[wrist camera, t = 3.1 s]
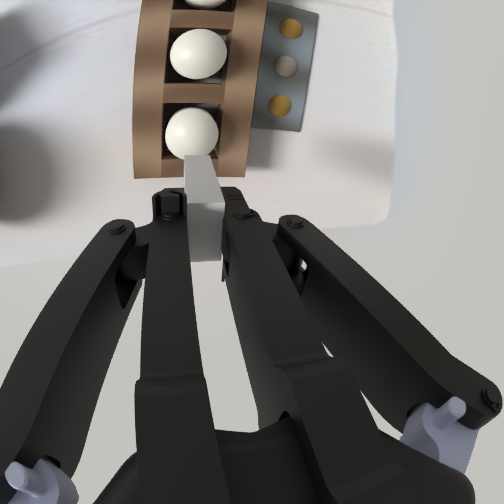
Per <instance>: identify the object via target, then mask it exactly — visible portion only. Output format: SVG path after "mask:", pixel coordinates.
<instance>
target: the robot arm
mask: <svg viewBox="0 0 504 504" xmlns="http://www.w3.org/2000/svg"><path fill="white" fill-rule="evenodd" d="M152 206H153V221H152V222H151V223H150V224H147V225H145V226H142V227H138V228H135V225H134V223H133V222H131V221H130V220H125V219H116V220H112V221H111V222H109V223H106V224H105V225H104V226H103V227H102V228H101V229H100V230H99V232H98V233H97V234H96V235H95V237H94V238H93V239H92V240H91V242H90V243H89V244H88V245H87V247H86V248H85V249H84V251H83V252H82V253H81V254H80V256H79V257H78V258H77V260H76V261H75V263H74V264H73V265H72V267H71V268H70V269H69V271H68V272H67V274H66V275H65V276H64V278H63V279H62V281H61V282H60V284H59V285H58V287H57V288H56V289H55V291H54V293H53V294H52V295H51V297H50V298H49V300H48V302H47V303H46V305H45V306H44V308H43V310H42V311H41V313H40V314H39V316H38V318H37V319H36V321H35V323H34V324H33V326H32V328H31V329H30V331H29V333H28V335H27V337H26V338H25V340H24V342H23V344H22V346H21V347H20V349H19V351H18V353H17V355H16V357H15V359H14V361H13V363H12V365H11V367H10V369H9V371H8V373H7V375H6V377H5V379H4V382H3V384H2V386H1V388H0V504H77V502H78V499H79V495H78V493H77V490H76V487H75V485H74V483H73V482H72V480H71V478H72V476H73V475H74V472H75V470H76V468H77V466H78V463H79V461H80V458H81V455H82V452H83V449H84V446H85V442H86V438H87V434H88V431H89V427H90V423H91V420H92V417H93V413H94V410H95V407H96V404H97V400H98V397H99V394H100V391H101V388H102V385H103V382H104V379H105V376H106V373H107V371H108V368H109V365H110V362H111V359H112V357H113V354H114V351H115V348H116V346H117V343H118V341H119V338H120V336H121V333H122V331H123V328H124V326H125V323H126V321H127V318H128V316H129V313H130V311H131V309H132V306H133V304H134V302H135V299H136V297H137V295H138V292H139V290H140V288H141V285H142V279H144V278H145V287H144V299H143V313H142V330H141V362H140V364H141V366H140V379H139V380H137V381H136V384H135V395H134V397H135V429H136V445H137V446H136V447H137V452H136V453H134V454H133V455H131V456H130V457H129V459H127V460H126V461H125V462H124V464H123V465H122V466H121V468H120V469H119V470H118V471H117V473H116V474H115V475H114V477H113V478H112V479H111V481H110V482H109V483H108V485H107V486H106V487H105V489H104V490H103V491H102V493H101V494H100V495H99V496H98V498H97V499H96V500H95V502H94V503H93V504H475V492H474V488H473V486H472V484H471V482H470V480H469V479H468V478H467V477H466V476H465V475H464V473H465V471H466V468H467V466H468V463H469V460H470V457H471V454H472V451H473V448H474V444H475V441H476V438H477V433H478V431H479V429H480V428H481V427H482V426H484V425H485V424H486V423H488V422H489V421H491V420H492V419H493V418H495V417H496V416H497V415H498V414H499V413H500V412H501V409H502V396H501V393H500V391H499V389H498V387H497V386H496V385H495V384H494V383H493V382H491V381H490V380H488V379H487V378H486V377H484V376H483V375H481V374H479V373H478V372H476V371H475V370H473V369H472V368H471V367H469V366H467V365H466V364H464V363H463V362H461V361H460V360H458V359H457V358H455V357H454V356H452V355H451V354H450V353H449V352H448V351H447V350H446V349H445V348H444V347H443V346H442V344H440V343H439V341H438V340H437V339H436V338H435V337H433V335H432V334H431V333H430V332H429V331H428V330H427V329H426V328H425V327H424V326H423V325H422V324H421V323H420V322H419V321H418V320H417V319H416V318H415V317H414V316H413V315H412V314H411V313H410V312H409V311H408V310H407V309H406V308H405V307H404V306H403V305H402V304H401V303H400V302H399V301H398V300H397V299H395V298H394V297H393V296H392V295H391V294H390V293H389V292H388V291H387V290H386V289H385V288H384V287H383V286H382V285H381V284H380V283H379V282H377V281H376V280H375V279H374V278H373V277H372V276H371V275H370V274H369V273H368V272H366V271H365V270H364V269H363V268H362V267H361V266H360V265H359V264H357V262H355V261H354V260H353V259H352V258H351V257H350V256H349V255H348V254H346V253H345V252H344V251H343V250H342V249H341V248H340V247H339V246H337V245H336V244H335V243H334V242H333V241H332V240H330V239H329V238H328V237H327V236H326V235H325V234H323V233H322V232H321V231H320V230H319V229H318V228H316V227H315V226H314V225H313V224H312V223H310V222H309V221H308V220H306V219H305V218H302V217H300V216H298V215H285V216H282V217H280V218H279V223H278V224H274V223H268V222H264V221H262V219H261V217H260V215H259V214H258V213H257V212H256V211H254V210H252V209H249V207H248V205H247V203H246V201H245V199H244V197H243V195H242V193H241V191H240V190H239V189H237V188H236V187H220V185H219V182H218V179H217V176H216V173H215V170H214V167H213V164H212V160H211V157H210V155H184V188H164V189H163V190H162V191H160V192H157V193H155V194H154V195H153V196H152ZM221 254H223V269H222V282H224V280H225V281H226V285H227V290H228V294H229V298H230V302H231V307H232V311H233V315H234V320H235V324H236V328H237V332H238V336H239V340H240V344H241V348H242V353H243V356H244V360H245V364H246V368H247V372H248V376H249V379H250V384H251V388H252V391H253V395H254V399H255V402H256V406H257V411H258V425H259V430H258V431H256V432H251V433H248V432H247V433H246V432H234V431H225V430H216V429H214V423H213V418H212V413H211V407H210V401H209V396H208V390H207V384H206V380H205V377H204V374H203V368H202V361H201V354H200V346H199V340H198V331H197V323H196V314H195V306H194V296H193V287H192V276H191V266H190V262H197V261H198V262H200V261H220V260H221ZM303 260H304V262H305V263H306V265H307V268H306V270H304V269H303V268H302V267H301V265H302V261H303ZM321 341H322V342H321ZM322 343H323V344H324V345H325V346H326V348H327V349H328V350H329V351H330V353H331V354H332V355H333V356H334V357H330V356H329V355H328V354H327V352H326V350H325V348H324V346H323V344H322ZM360 390H361V391H360ZM361 392H362V393H363V394H364V395H365V397H366V398H367V399H368V400H369V402H370V403H371V404H372V406H373V407H374V408H375V409H376V410H377V411H378V413H379V414H380V415H381V416H382V417H383V418H384V419H385V420H386V421H387V422H388V423H389V424H391V425H392V426H393V427H394V428H395V429H397V430H398V431H399V432H401V433H402V434H403V435H402V436H401V437H400V440H397V439H395V438H393V437H391V436H390V435H388V434H386V433H384V432H383V431H381V430H379V429H378V427H377V425H376V423H375V421H374V419H373V417H372V415H371V412H370V410H369V408H368V406H367V405H366V402H365V400H364V398H363V396H362V394H361Z"/></svg>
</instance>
